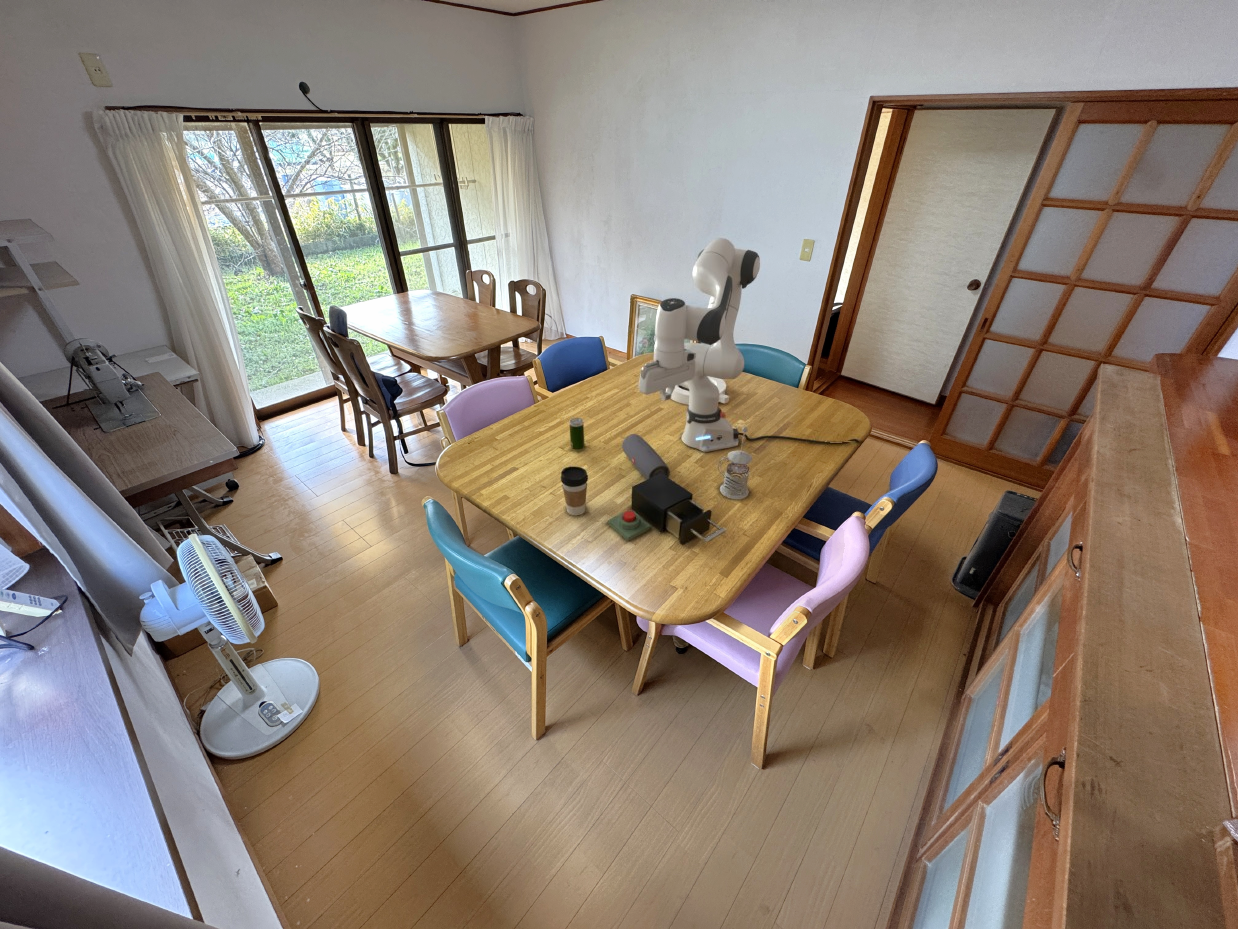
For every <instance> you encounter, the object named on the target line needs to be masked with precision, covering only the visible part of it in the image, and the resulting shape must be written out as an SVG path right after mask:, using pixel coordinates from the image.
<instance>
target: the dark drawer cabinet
mask: <svg viewBox="0 0 1238 929" xmlns="http://www.w3.org/2000/svg"><path fill="white" fill-rule="evenodd" d="M688 498H690V499H691V500H692V501H693V498H694V493H692V492H691V491H689V490H688V489H687V488H685V487H684V486H682V485H680V484H679V483H677V482H676V481H674V480H673V479H671V478H670V477H669V478H668V477H667V476H665V475H664V474H662V473H660V474H658V475H656V476H654V477H651V478H649V479H647V480H646V479H645V480H643V481H641V482H639V483H637V484H634V485H632V486H631V504H630V507H631V508H630V509H631V510H632V511H633V512H635V513H637V514H638V515H639V517H641V518H642V519H643V520H644V521H646V522H647V523H648V524H649V525H651V526H652V527H654V528H655V529H656V530H657V531H658V532H660V533H661V534H662V533H663V532H665V531H667V530H666V529H665V528H664V527H663V525H664V512H665V510H667V509H669V508H671V507H673V506H675V505H677V504H679V503H681V502H683V501H684V500H686V499H688Z"/></svg>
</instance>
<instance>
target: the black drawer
mask: <svg viewBox="0 0 1238 929" xmlns="http://www.w3.org/2000/svg"><path fill="white" fill-rule="evenodd" d="M712 512H713V511H712V510H710V509H707V510H705V507H702V506H701V505H700V504H698V503H697V502H695V501H694V500H693V499H692V500H691V499H690V498H688V499H686V500H684V501H683V502H681V503H679V504H677V505H675V506H673V507H671V508H669V509H667V510H665V512H664V525H663V527H664V528H665V529H666V530H665V531H668V532H669V533H670V534H672V536H674V537H675V538H676V539H679V544H680V545H681V546H684V545H686V544H688V543H689V542H691V541H693V540H694V539H696V538H699V539H700V540H701V541H702V543H703V544H705V545H707V544H709V543H710V542H712V541H713V540H715V539H717V538H719V537H721V536H722V535H723V534H725V533H726V531H727V530H726V528H725V527H723V526H722V527H721V526H719V525H718V524H716V523H715V522H713V521H712V514H713V513H712ZM711 526H713V527H714V528H716V529H717V530H715V531H714V532H712V533H710V534H709V535H707V536H705V537H704V536H703V535H702V534H704V533H706V532H708V531H710V527H711Z"/></svg>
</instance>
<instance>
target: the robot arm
mask: <svg viewBox="0 0 1238 929" xmlns="http://www.w3.org/2000/svg"><path fill="white" fill-rule="evenodd" d="M760 258H761V257H760V255H759V254H758V252H756V251H755V250H752V249H741V248H735V245H734V244H733V242H731V241H730V240H729V239H727V238H723V237H718V238H715V239H713V240H712V241H711V242H709V244H708V245H706V247H705V248H704V249H702V250H701V251H700V252H699V253H698V254H697V257H696V261H695V263H694V265H693V269H692V271H691V272H692V273H691V275H692V276H691V277H692V281H693V283H694V285H695V286H696V288H697V289H698V290H699V291H700V292H702V293H703V294H706V295H709V296H710V298H709V300H708V304H707V307H700V306H693V305H689V304H686V302H685V301H684V299H681V298H677V297H670V298H666V299H663V300H662V301H661V302H659V303H658V306H657V311H656V317H655V327H654V334H655V342H654V345H653V346H654V347H653V361H650V362H647V363H645V364H644V365H643V366H642V367H641V369H640V374H639V375H640V376H639V378H638V379H639V380H638V390H639V392H640V393H642V394H644V395H646V396H650V395H651V394H654V393H657V392H658V393H659V394H660V400H661V401H663V402H665V401H668V400H670V399H671V395H672V393H673V391H674V389H675V385H678V384H681V383H683V382H686V381H687V382H688V385H689V389H688V391H689V405H687V407H686V408H687V409H686V415H685V418H686V423H685V427H684V429H683V433H682V435H681V441H682V443H683V444H684V445H686V446H688V447H690V448H693V449H698V450H699V451H701V452H704V453H707V452H708V453H709V452H713V451H719V450H723V449H729V448H734V447H738V445H739V436H741V437H743V435H744V438H745V439H746V441H749V442H752V441H753V442H754V441H759V440H762V439H783V440H792V441H799V442H806V443H814V444H823V445H824V444H825V445H845V444H849V443H850V442H844V441H841V442H842V443H830V442H831V441H827V442H825V441H824V440H815V439H807V438H799V437H794V436H793V437H792V436H786V435H785V436H784V435H761V436H758V437H753V438H750V437H749V436H748V434H746V433H744V432H739V430H738V428H736V427H735V428H733V425H732V424H731V423H730V422H729V420H728V419H726V416H727V414H726V413H725V411H723V410H722V409H721V407H719V402H718V401H719V390H718V388H717V386H716V385H715V384H714V383H712V382H711V381H710V380H709V378H708V377H707V376H709V377H714V378H719V379H722V380H735V379H737V378H738V377H739V376H740V375H741V374H742V373H743V371H744V368H745V358H744V356H743V354H742V353H741V351H740V350H739V349H738V347H737V346H736V343H735V339H734V330H735V326H736V320H737V317H738V313H739V309H740V305H741V300H742V290H745V289H747V287H748V285H750V284H752V283H753V282H754V281H755V280H756V279H757V276H758V274H759V273H760V268H761V260H760ZM685 340H687V341H693V342H685ZM666 388H668V389H667V392H666ZM671 400H672V399H671ZM847 441H852V442H856V443H858V444H859V443H860V441H859V439H857V438H851V439H847Z"/></svg>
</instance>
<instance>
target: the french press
mask: <svg viewBox="0 0 1238 929" xmlns="http://www.w3.org/2000/svg"><path fill="white" fill-rule="evenodd" d="M748 430H749V428H748V427H747V426H743V427H742V428H741V432H742V433H744V434H746V433H747V432H748ZM744 438H745V436H744V435H743V436H742V442H741V448H740V450H732V451H730V452H728V453H727V455H724V456H722V458H721V459H720V460H719V461H718V463H717V470H718V473H719V474H720V475H721V476H722V477H723V482H722V484H721V485H720V487H719V491H720V493H721V494H722V496H724V497H726V498H728V499H730V500H731V499H732V500H742V499H745V498H747V497H748V496H749V493H750V492H749V489H748V482H749V477H750V467H749V464H750V463H752V462H753V455H751V454H750V453H748V452H747V451H744V450H743V444H744V440H745V439H744ZM722 460H726V462H729V461H730V462H729V463H728V464H727V466H726V471H724V470H723V469H722V465H721V464H722ZM719 467H720V468H719ZM721 471H722V472H721ZM722 473H723V474H724V475H723V474H722Z"/></svg>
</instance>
